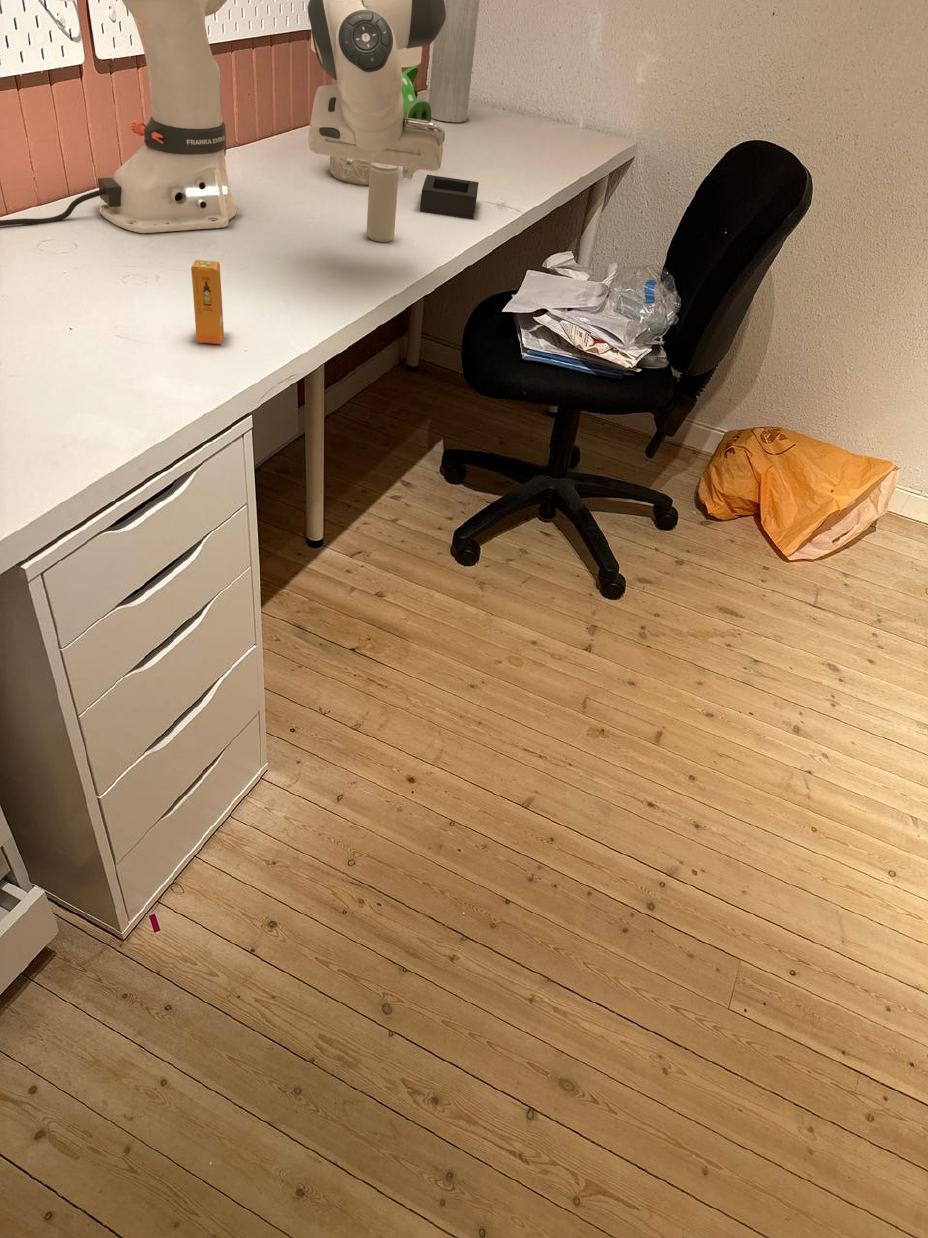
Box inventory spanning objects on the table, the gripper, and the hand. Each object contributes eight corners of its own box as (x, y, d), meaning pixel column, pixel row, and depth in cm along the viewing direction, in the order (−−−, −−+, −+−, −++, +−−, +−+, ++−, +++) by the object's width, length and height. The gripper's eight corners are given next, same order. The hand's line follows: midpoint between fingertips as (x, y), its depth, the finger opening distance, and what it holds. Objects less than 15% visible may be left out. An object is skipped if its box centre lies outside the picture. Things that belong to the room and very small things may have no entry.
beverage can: (389, 244, 159) (395, 170, 151) (362, 239, 159) (366, 164, 151) (396, 236, 162) (402, 163, 155) (370, 231, 163) (374, 157, 155)
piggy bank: (398, 154, 203) (404, 77, 193) (333, 134, 209) (335, 58, 199) (434, 145, 213) (440, 71, 203) (370, 126, 219) (374, 53, 209)
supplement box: (225, 334, 124) (221, 260, 118) (221, 345, 122) (217, 269, 115) (200, 332, 124) (195, 257, 118) (195, 343, 121) (189, 267, 115)
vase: (470, 124, 232) (484, -4, 215) (431, 121, 230) (442, -9, 212) (461, 114, 240) (475, -11, 222) (424, 111, 237) (434, -15, 220)
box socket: (473, 218, 175) (475, 196, 172) (419, 211, 175) (421, 188, 172) (476, 203, 183) (478, 181, 180) (425, 195, 182) (426, 174, 180)
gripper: (447, 105, 133) (446, 160, 147) (306, 84, 132) (318, 141, 146) (442, 146, 132) (440, 198, 146) (300, 125, 132) (312, 179, 145)
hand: (378, 170), depth 146 cm, fingers open, 8 cm apart
